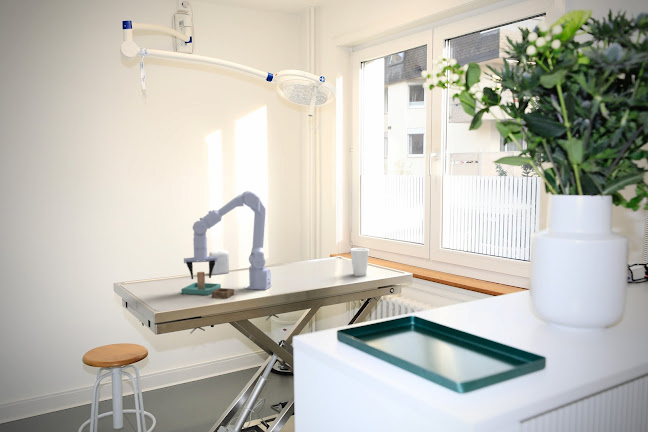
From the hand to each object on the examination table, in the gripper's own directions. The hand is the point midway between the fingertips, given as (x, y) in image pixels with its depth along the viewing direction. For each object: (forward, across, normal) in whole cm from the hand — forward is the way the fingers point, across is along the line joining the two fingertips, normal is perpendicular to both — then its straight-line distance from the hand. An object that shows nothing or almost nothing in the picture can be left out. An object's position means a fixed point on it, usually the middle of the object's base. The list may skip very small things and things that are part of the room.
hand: (201, 278), depth 245 cm
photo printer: (+6, -12, -36) cm, 38 cm away
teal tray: (+6, 0, 0) cm, 6 cm away
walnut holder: (+6, -8, +12) cm, 16 cm away
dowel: (+5, 0, 0) cm, 5 cm away
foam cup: (+6, -80, -12) cm, 81 cm away
